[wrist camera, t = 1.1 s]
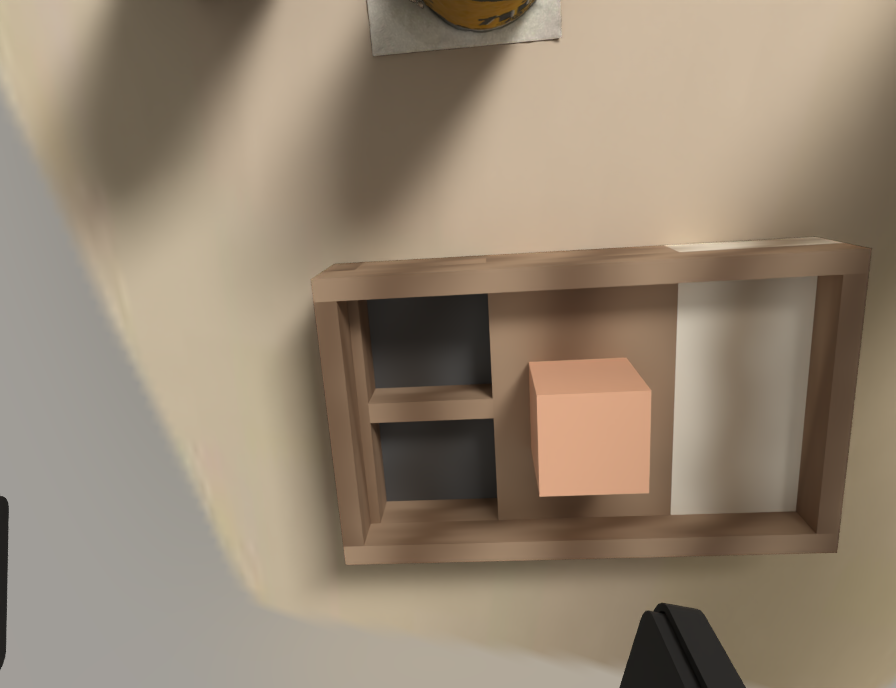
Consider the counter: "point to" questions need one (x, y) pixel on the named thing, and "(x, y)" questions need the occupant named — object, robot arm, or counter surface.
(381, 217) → the counter surface
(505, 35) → the condiment
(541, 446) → the block
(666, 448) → the box
